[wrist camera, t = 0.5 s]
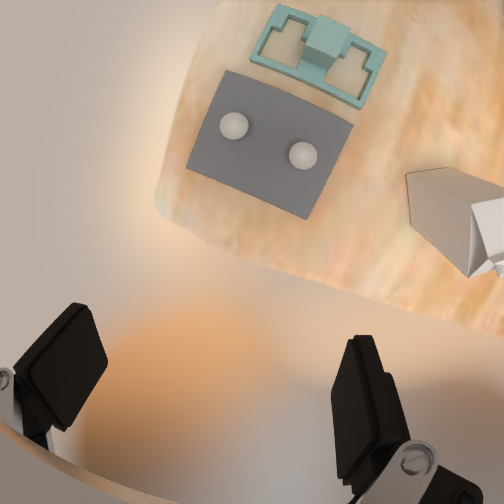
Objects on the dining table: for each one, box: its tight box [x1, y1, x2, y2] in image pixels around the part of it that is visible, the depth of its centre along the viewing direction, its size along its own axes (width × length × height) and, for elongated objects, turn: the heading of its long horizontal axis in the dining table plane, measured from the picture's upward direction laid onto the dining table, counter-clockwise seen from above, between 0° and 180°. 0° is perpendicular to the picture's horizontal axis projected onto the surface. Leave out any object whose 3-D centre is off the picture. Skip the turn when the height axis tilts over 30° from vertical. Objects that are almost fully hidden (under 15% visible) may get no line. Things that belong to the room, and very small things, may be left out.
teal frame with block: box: [249, 4, 387, 110], centre depth 24 cm, size 9×14×7 cm, turn 67°
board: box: [186, 70, 353, 220], centre depth 30 cm, size 13×16×4 cm
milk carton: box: [406, 168, 504, 278], centre depth 23 cm, size 7×7×19 cm
